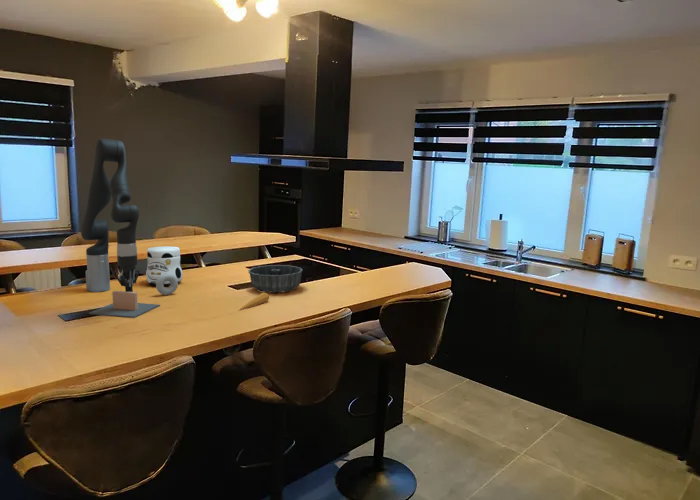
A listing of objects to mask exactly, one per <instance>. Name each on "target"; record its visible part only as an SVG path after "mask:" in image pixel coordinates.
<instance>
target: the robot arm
mask: <svg viewBox="0 0 700 500" xmlns="http://www.w3.org/2000/svg"><path fill="white" fill-rule="evenodd" d="M105 162H110V163H111V162H114V163H117V168H116V171H115V172H114V174H113V175H112V177H111V178H109V176H108V174H107V171H106V170H105V167H104V163H105ZM127 163H128V162H127V151H126V146H125V144H124V142H123V141H121V140H116V139H110V138H98V140H97V141H96V143H95V149H94V158H93V168H92V174H91V178H90V184H89V188H88V193H87V194H88V196H87V200H86V209H85V210H84V211H85V212H84V214H83V218H82V220H81V225H80V226H81V227H80V235H81V238H82V239H83V240H84V241H85V240H86V241H95V240H96V243H95V244H93V245H91V246H88V247H87V248H86V251H85V253H86V254H85V255H86V256H85V257H86V269H87V270H85V285H86V286H85V287H86V291H89V292H91V293H100V292H106V291H109V290H111V280H110V279H111V278H110V276H111V275H110V264H109V263H110V259H109V249H110V248H109V247H110V246H109V245H110V244H109V240H110V239H109V235H110V234H109V233H110V231H109V224H108V222H107V220H106V219H96V218H97V217H98V215H99V214H100V213H101V212H102V211H103V210H105V208H106V207H107V206H108V205H109V204H110V203H111V201H112V203H111V209H110V210H111V211H110V218H111V220H112V221H113V222H114V223H116V224H117V223H118V224H119V223H121V224H122V223H129V224H128V225H127V226H125V227H122V228H119V229H117V231H116V244H117V245H116V260H117V265H118V267H119V274H118V275H116V276H115V279H116V280H117V281H118V283H119V284H120V286H121V287H124V288H125V289H124V291H125V292H134V291H133V290H134V289H133V287H134V284H137V281H138V278H139V275H140V270H137V267H136V266H137V265H138V247H137V237H136V234H137V233H136V232H137V226H138V222H139V219H140V209H139V207H138V206H137V205H135V204H128V203H129V202H130V201H131V199H132V195H131V191H130V186H129V180H128V167H127V165H128V164H127Z"/></svg>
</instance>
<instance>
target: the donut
mask: <svg viewBox="0 0 700 500" xmlns="http://www.w3.org/2000/svg"><path fill="white" fill-rule="evenodd" d="M166 281H169V282H170V285H168V287H165V285H164V283H165V282H166ZM155 286H156V287H155V288H156V290H157V292H158V293H159V294H161V295H163V296H169V295H171V294H172V295H173V293H175V292H176V291H177V289H178V286H179V283H178V281H177V278H176V277H175V276H174V275H172V274H163V275H162V276H160V277H159V278H158V280H157V282H156V285H155Z"/></svg>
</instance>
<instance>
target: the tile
mask: <svg viewBox="0 0 700 500" xmlns="http://www.w3.org/2000/svg"><path fill="white" fill-rule="evenodd" d="M111 294H112V303H113V308H115V309H127V310H137V309H138V303H139V302H138V301H139V300H138V292H137V291H133V292H125V290H123V291H122V290H113V291H112V292H111Z"/></svg>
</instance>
